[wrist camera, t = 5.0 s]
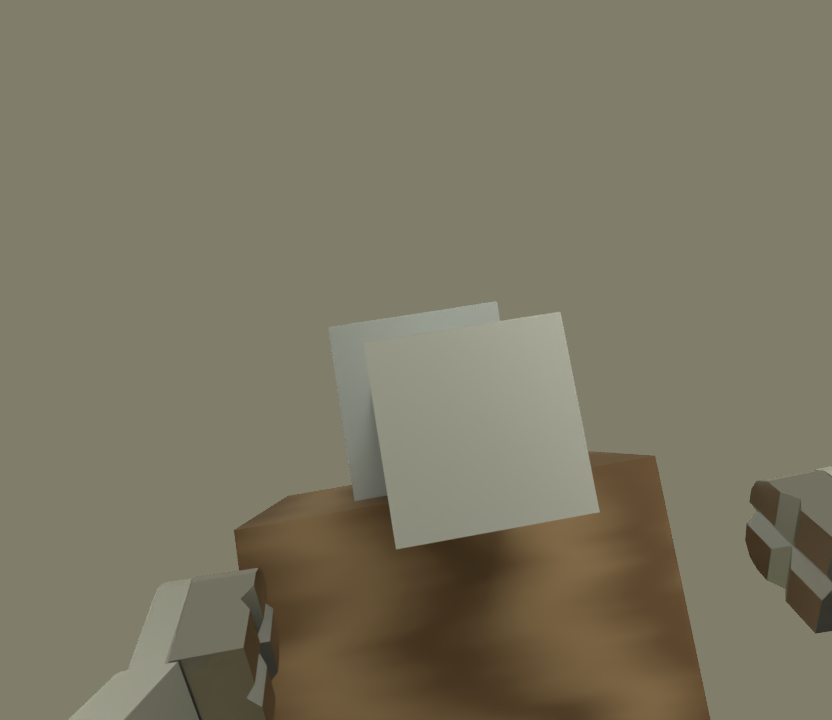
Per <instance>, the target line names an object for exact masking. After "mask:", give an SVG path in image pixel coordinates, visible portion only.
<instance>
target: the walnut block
mask: <svg viewBox="0 0 832 720" xmlns="http://www.w3.org/2000/svg"><path fill="white" fill-rule="evenodd" d="M588 455H589V460H590V465H591V470H592V475H593V480H594V485H595V490H596V495H597V500H598V505H599V510H600V512H599V513H593V514H588V515H582V516H577V517H571V518H566V519H560V520H555V521H549V522H544V523H538V524H533V525H527V526H522V527H516V528H511V529H505V530H500V531H494V532H489V533H483V534H478V535H473V536H467V537H462V538H456V539H451V540H445V541H440V542H434V543H429V544H423V545H418V546H412V547H407V548H401V549H396V546H395V540H394V533H393V527H392V521H391V515H390V508H389V502H388V496H382V497H376V498H370V499H364V500H359V501H354V494H353V488H352V485H349V486H343V487H337V488H332V489H326V490H320V491H315V492H308V493H303V494H297V495H292V496H287V497H286V498H284V499H282V500H281V501H279V502H278V503H276V504H275V505H273V506H271V507H270V508H268V509H267V510H265V511H264V512H262V513H261V514H259V515H257V516H256V517H254V518H252V519H251V520H249V521H248V522H246V523H245V524H243V525H241V526H240V527H238V528H237V529H235V530H234V534H235V542H236V549H237V556H238V565H239V571H240V570H247V569H254V568H260V569H261V570H262V571H263V574H264V577H265V581H266V584H267V595H266V604H267V605H269V606H270V607H272V608H273V609H274V613H275V617H276V621H277V628H278V634H279V668H278V673H277V674H276V675H275V676H274V678H273V679H272V680H271V682H272V686H273V689H274V693H275V697H276V701H275V711H274V720H710V716H709V712H708V707H707V702H706V697H705V693H704V687H703V683H702V678H701V673H700V668H699V663H698V659H697V654H696V649H695V644H694V640H693V635H692V630H691V625H690V621H689V616H688V612H687V606H686V601H685V596H684V592H683V587H682V582H681V578H680V573H679V568H678V563H677V558H676V554H675V549H674V544H673V539H672V534H671V530H670V525H669V520H668V516H667V511H666V506H665V501H664V496H663V491H662V487H661V482H660V478H659V472H658V467H657V463H656V458H655V456H649V455H634V454H619V453H604V452H603V453H602V452H590V451H588Z"/></svg>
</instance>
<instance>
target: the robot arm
mask: <svg viewBox="0 0 832 720" xmlns="http://www.w3.org/2000/svg"><path fill="white" fill-rule="evenodd" d="M750 503H751V504H752V505H753V507H754V508H755V509H756V510H757V512H756V513H755V514H754V515H753V516H752V518H751V519H750V520H749V521H748V523H747V526H746V539H745V540H746V544H747V548H748V551H749V555H750V557H751V559H752V561H753V563H754V565H755V566H756V568H757V569H758V570H759V572H760V573H761V574H762V575H763V576H764V577H765V578H766V580H768V581H770V582H772V583H774V584H776V585H778V586H780V587H783V588H785V595H786V602H787V603H788V604H789V605H790V606H791V607H792V608H793V609H794V611H795V612H796V613H797V614H798V615H799V616H800V617H801V618H802V619H803V620H804V621H805V623H806V624H807V625H808V626H809V627H810V628H811V629H812V630H813V631H814V632H815V633H821V632H827V631H832V466H831V467H826V468H821V469H816V470H814V471H809V472H803V473H798V474H792V475H787V476H781V477H776V478H770V479H765V480H759V481H756V483H755V484H754V486H753V488H752V490H751V496H750ZM266 595H267V584H266V581H265V577H264V574H263V571H262V570H261V569H260V568H254V569H247V570H240V571H234V572H227V573H221V574H214V575H207V576H201V577H196V578H191V579H185V580H178V581H172V582H165V583H162V584H161V585H160V587H159V588H158V589H157V590H156V592H155V595H154V598H153V601H152V604H151V606H150V609H149V612H148V615H147V618H146V620H145V623H144V626H143V629H142V631H141V634H140V637H139V640H138V643H137V645H136V648H135V651H134V654H133V656H132V659H131V662H130V665H129V668H128V670H127V671H124V672H118V673H116V674H115V675H114V676H113V677H112V678H111V679H110V680H109V681H108V682H107V683H106V684H105V685H104V686H103V687H102V688H101V689H100V690H98V691H97V692H96V693H95V694H94V695H93V696H92V697H91V698H90V699H89V700H88V701H87V702H86V703H85V704H84V705H83V706H82V707H81V708H80V709H79V710H78V711H77V712H76V713H74V715H72V716H71V717H70V718H69V719H68V720H274V711H275V701H276V697H275V693H274V689H273V686H272V682H271V680H272V679H273V678H274V676H275V675H276V674H277V673H278V668H279V634H278V628H277V621H276V617H275V613H274V609H273V608H272V607H270V606H269V605H267V604H266Z"/></svg>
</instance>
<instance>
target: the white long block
mask: <svg viewBox="0 0 832 720" xmlns="http://www.w3.org/2000/svg"><path fill="white" fill-rule="evenodd" d="M328 329H329V336H330V343H331V350H332V356H333V363H334V369H335V376H336V383H337V389H338V396H339V402H340V409H341V415H342V422H343V428H344V435H345V442H346V448H347V455H348V461H349V468H350V474H351V481H352V488H353V494H354V501H359V500H364V499H370V498H376V497H382V496H388V502H389V508H390V515H391V521H392V527H393V533H394V540H395V546H396V549H401V548H407V547H412V546H418V545H423V544H429V543H434V542H440V541H445V540H451V539H456V538H462V537H467V536H473V535H478V534H483V533H489V532H494V531H500V530H505V529H511V528H516V527H522V526H527V525H533V524H538V523H544V522H549V521H555V520H560V519H566V518H571V517H577V516H582V515H588V514H593V513H599V512H600V510H599V505H598V500H597V495H596V490H595V485H594V480H593V475H592V470H591V465H590V460H589V455H588V450H587V445H586V440H585V435H584V429H583V424H582V419H581V414H580V409H579V404H578V399H577V394H576V389H575V384H574V378H573V374H572V368H571V363H570V358H569V353H568V349H567V344H566V338H565V333H564V328H563V323H562V318H561V313H560V312H556V313H549V314H543V315H537V316H530V317H524V318H518V319H511V320H505V321H500V317H499V312H498V306H497V302H490V303H484V304H477V305H470V306H464V307H458V308H451V309H444V310H438V311H431V312H425V313H418V314H412V315H405V316H399V317H392V318H386V319H379V320H373V321H366V322H360V323H353V324H347V325H340V326H333V327H329V328H328Z"/></svg>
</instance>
